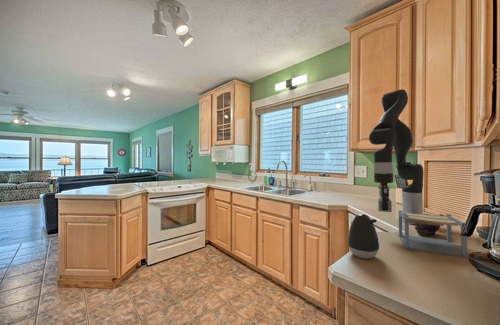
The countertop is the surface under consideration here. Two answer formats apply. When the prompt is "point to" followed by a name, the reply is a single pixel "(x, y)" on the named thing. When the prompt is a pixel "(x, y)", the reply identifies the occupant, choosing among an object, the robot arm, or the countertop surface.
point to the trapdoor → (430, 219)
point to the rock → (426, 229)
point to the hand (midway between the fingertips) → (384, 208)
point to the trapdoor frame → (433, 240)
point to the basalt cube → (381, 206)
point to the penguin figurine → (363, 237)
